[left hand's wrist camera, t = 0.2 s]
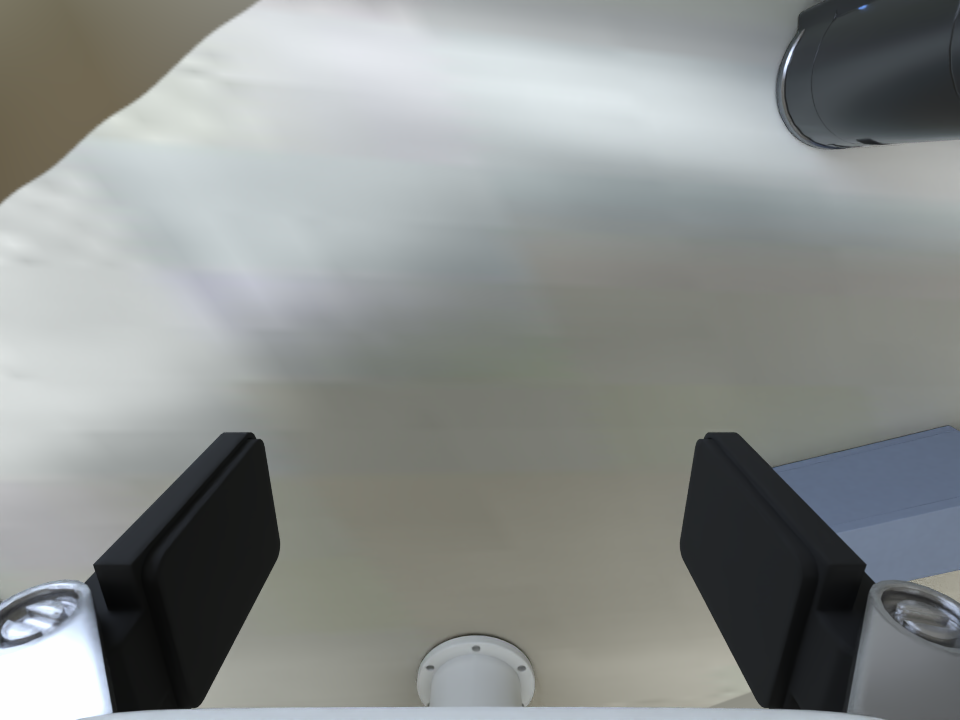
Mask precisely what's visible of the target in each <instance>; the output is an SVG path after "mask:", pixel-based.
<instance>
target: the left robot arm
mask: <svg viewBox="0 0 960 720" xmlns="http://www.w3.org/2000/svg"><path fill="white" fill-rule="evenodd" d="M279 551H280V538H279V532H278V526H277V520H276V513H275V507H274V501H273V495H272V489H271V483H270V477H269V471H268V464H267V458H266V452H265V446H264V443H263V441H262V440H261V439H256V437H255V435H254V434H253V433H252V432H226V433H223V434H221V435H220V436H219V437H218V438H217V439H216V440H215V441H214V442H213V443H212V444H211V445H210V446H209V447H208V448H207V449H206V450H205V451H204V452H203V453H202V454H201V455H200V456H199V457H198V458H197V459H196V460H195V461H194V463H193V464H192V465H191V466H190V467H189V468H188V469H187V470H186V471H185V472H184V473H183V474H182V475H181V476H180V477H179V478H178V479H177V480H176V481H175V482H174V483H173V484H172V485H171V486H170V487H169V488H168V489H167V490H166V491H165V492H164V493H163V494H162V495H161V496H160V497H159V498H158V499H157V500H156V501H155V502H154V503H153V504H152V505H151V506H150V507H149V508H148V509H147V510H146V511H145V512H144V513H143V514H142V515H141V516H140V517H139V519H138V520H137V521H136V522H135V523H134V524H133V525H132V526H131V527H130V528H129V529H128V530H127V531H126V532H125V533H124V534H123V535H122V536H121V537H120V538H119V539H118V540H117V541H116V542H115V543H114V544H113V545H112V546H111V547H110V548H109V549H108V550H107V551H106V552H105V553H104V554H103V555H102V556H101V557H100V558H99V559H98V560H97V561H96V562H95V563H94V564H93V566H94V569H95V573H94V574H93V575H92V576H91V577H90V578H89V579H88V580H87V581H86V582H85V583H82V582H80V581H77V580H59V581H53V582H47V583H44V584H41V585H38V586H34V587H31V588H29V589H27V590H24V591H22V592H20V593H18V594H16V595H13V596H11V597H10V598H8V599H7V600H5V601H3V602H2V603H0V720H960V603H958V602H957V601H955V600H953V599H952V598H950V597H949V596H947V595H944V594H942V593H940V592H938V591H936V590H933V589H931V588H929V587H926V586H922V585H919V584H916V583H913V582H907V581H901V580H883V581H880V582H878V583H875V582H874V581H873V580H872V579H871V578H870V577H869V576H868V575H867V574H866V573H865V569H866V566H867V564H866V563H865V562H864V561H863V560H862V559H861V558H860V557H859V556H858V555H857V554H856V553H855V552H854V551H853V550H852V549H851V548H850V547H849V546H848V545H847V544H846V543H845V542H844V541H843V540H842V539H841V538H840V537H839V536H838V535H837V534H836V533H835V532H834V531H833V530H832V529H831V528H830V527H829V526H828V525H827V524H826V523H825V522H824V521H823V520H822V519H821V517H820V516H819V515H818V514H817V513H816V512H815V511H814V510H813V509H812V508H811V507H810V506H809V505H808V504H807V503H806V502H805V501H804V500H803V499H802V498H801V497H800V496H799V495H798V494H797V493H796V492H795V491H794V490H793V489H792V488H791V487H790V486H789V485H788V484H787V483H786V482H785V481H784V480H783V479H782V478H781V477H780V476H779V475H778V474H777V473H776V472H775V471H774V470H773V469H772V468H771V467H770V466H769V465H768V464H767V463H766V461H765V460H764V459H763V458H762V457H761V456H760V455H759V454H758V453H757V452H756V451H755V450H754V449H753V448H752V447H751V446H750V445H749V444H748V443H747V442H746V441H745V440H744V439H743V438H742V437H741V436H740V435H739V434H737V433H734V432H708V433H707V434H706V435H705V437H704V439H699V440H698V441H697V443H696V446H695V452H694V458H693V464H692V471H691V477H690V483H689V489H688V495H687V501H686V507H685V513H684V520H683V526H682V532H681V538H680V551H681V555H682V558H683V561H684V562H685V564H686V566H687V568H688V570H689V572H690V574H691V576H692V578H693V580H694V582H695V584H696V585H697V587H698V589H699V591H700V593H701V595H702V597H703V599H704V601H705V603H706V605H707V606H708V608H709V610H710V612H711V614H712V616H713V618H714V620H715V622H716V624H717V626H718V628H719V629H720V631H721V633H722V635H723V637H724V639H725V641H726V643H727V645H728V647H729V649H730V651H731V652H732V654H733V656H734V658H735V660H736V662H737V664H738V666H739V668H740V670H741V672H742V674H743V675H744V677H745V679H746V681H747V683H748V685H749V687H750V689H751V691H752V693H753V695H754V696H755V698H756V700H757V702H758V703H759V704H760V705H761V706H762V707H764V708H769V709H755V708H632V707H527V706H528V704H529V703H530V701H531V699H532V697H533V695H534V690H535V678H534V672H533V667H532V665H531V663H530V661H529V659H528V658H527V657H526V656H525V654H524V653H523V652H522V651H520V650H519V649H518V648H517V647H515V646H513V645H512V644H510V643H508V642H506V641H503V640H500V639H498V638H494V637H489V636H479V635H471V636H462V637H458V638H454V639H451V640H448V641H446V642H444V643H441V644H440V645H438V646H437V647H435V648H434V649H432V650H431V651H430V652H429V653H428V654H427V655H426V656H425V658H424V659H423V661H422V662H421V664H420V667H419V670H418V676H417V692H418V695H419V698H420V700H421V701H422V703H423V705H424V706H425V707H328V708H205V709H191V708H196V707H198V706H199V705H200V704H201V703H202V702H203V700H204V698H205V697H206V695H207V693H208V691H209V689H210V687H211V685H212V683H213V681H214V679H215V677H216V675H217V674H218V672H219V670H220V668H221V666H222V664H223V662H224V660H225V658H226V656H227V654H228V652H229V651H230V649H231V647H232V645H233V643H234V641H235V639H236V637H237V635H238V633H239V631H240V629H241V628H242V626H243V624H244V622H245V620H246V618H247V616H248V614H249V612H250V610H251V608H252V606H253V605H254V603H255V601H256V599H257V597H258V595H259V593H260V591H261V589H262V587H263V585H264V584H265V582H266V580H267V578H268V576H269V574H270V572H271V570H272V568H273V566H274V564H275V562H276V561H277V558H278V555H279Z"/></svg>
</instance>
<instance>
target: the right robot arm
mask: <svg viewBox="0 0 960 720" xmlns="http://www.w3.org/2000/svg"><path fill="white" fill-rule="evenodd" d="M777 101H778V107H779V111H780V114H781V117H782V119H783V121H784V123H785V125H786V126H787V128H788V129H789V131H790V132H791V133H792V134H793V135H794V136H795V137H796V138H797V139H799V140H800V141H802V142H803V143H805V144H807V145H810V146H812V147H816V148H820V149H845V148H850V147H860V146H869V145H885V144H900V143H915V142H930V141H946V140H960V0H825V1H823V2H821V3H819V4H817V5H815V6H813V7H811V8H809V9H807V10H805V11H803V12H801V13H800V15H799V29H798V33H797V34H796V36H795V37H794V39H793V40H792V42H791V43H790V45H789V47H788V49H787V51H786V53H785V55H784V58H783V60H782V63H781V66H780V70H779V75H778V81H777ZM891 146H892V145H891ZM876 147H878V146H876ZM862 148H863V147H862Z"/></svg>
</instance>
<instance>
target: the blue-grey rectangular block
mask: <svg viewBox="0 0 960 720" xmlns="http://www.w3.org/2000/svg"><path fill="white" fill-rule="evenodd" d="M772 469H773V470H774V471H775V472H776V473H777V474H778V475H779V476H780V477H781V478H782V479H783V480H784V481H785V482H786V483H787V484H788V485H789V486H790V487H791V488H792V489H793V490H794V491H795V492H796V493H797V494H798V495H799V496H800V497H801V498H802V499H803V500H804V501H805V502H806V503H807V504H808V505H809V506H810V507H811V508H812V509H813V510H814V511H815V512H816V513H817V514H818V515H819V516H820V517H821V519H822V520H823V521H824V522H825V523H826V524H827V525H828V526H829V527H830V528H831V529H832V530H833V531H834V532H835V533H836V534H837V535H838V536H839V537H840V538H841V539H842V540H843V541H844V542H845V543H846V544H847V545H848V546H849V547H850V548H851V549H852V550H853V551H854V552H855V553H856V554H857V555H858V556H859V557H860V558H861V559H862V560H863V561H864V562H865V563H866V564H867V566H866V569H865V573H866V574H867V575H868V576H869V577H870V578H871V579H872V580H873V581H874V582H875V583H878V582H880V581H883V580H901V581H910V580H914V579H919V578H924V577H928V576H933V575H938V574H942V573H947V572H952V571H956V570H960V431H958V430H956V429H955V428H953V427H951V426H945V427H940V428H936V429H932V430H928V431H924V432H920V433H915V434H911V435H907V436H903V437H899V438H895V439H890V440H886V441H882V442H878V443H874V444H870V445H865V446H861V447H857V448H853V449H849V450H845V451H840V452H836V453H832V454H828V455H824V456H820V457H815V458H811V459H807V460H803V461H799V462H795V463H790V464H786V465H782V466H778V467H774V468H772Z"/></svg>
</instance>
